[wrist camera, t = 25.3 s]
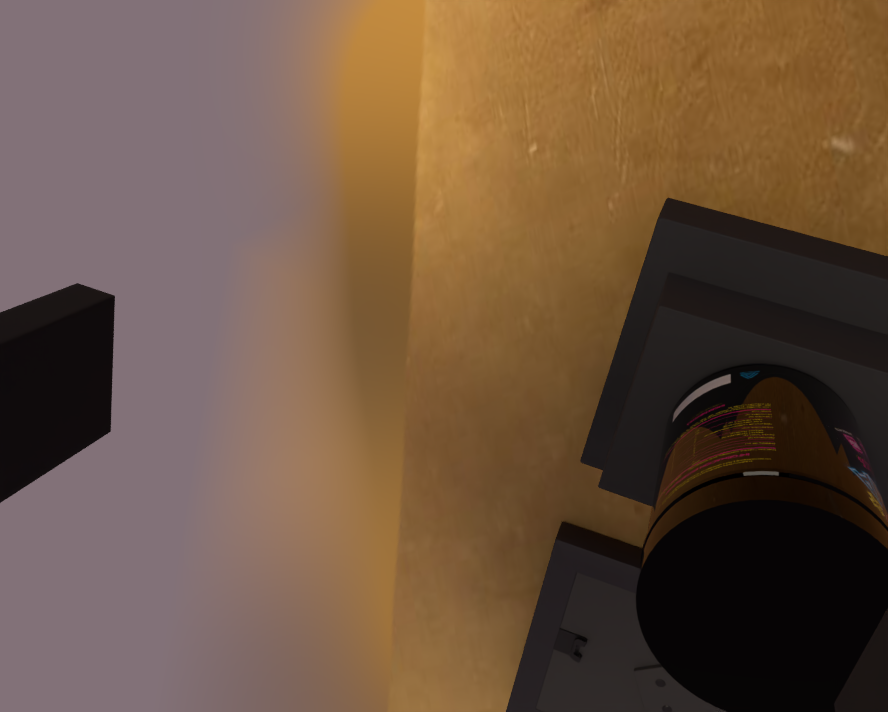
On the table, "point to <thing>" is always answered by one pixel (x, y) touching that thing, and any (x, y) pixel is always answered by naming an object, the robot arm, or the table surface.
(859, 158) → the table surface
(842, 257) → the dark rectangular box
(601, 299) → the table surface
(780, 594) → the supplement container
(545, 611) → the picture frame
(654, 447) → the top pad
